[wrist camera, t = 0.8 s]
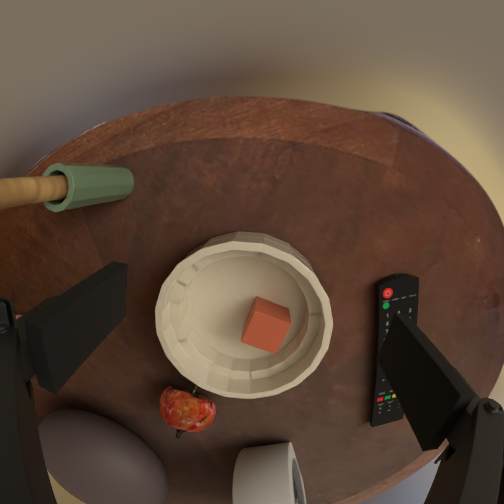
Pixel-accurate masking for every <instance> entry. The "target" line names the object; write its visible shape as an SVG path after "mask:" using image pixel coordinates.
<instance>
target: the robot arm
mask: <svg viewBox="0 0 504 504" xmlns="http://www.w3.org/2000/svg"><path fill="white" fill-rule="evenodd" d="M126 288H127V264H124V263H119V262H115V261H113V262H112V263H110V264H108V265H107V266H105V267H104V268H102V269H100V270H99V271H97V272H96V273H94V274H92V275H91V276H89V277H88V278H86V279H84V280H83V281H81V282H80V283H78V284H77V285H75V286H74V287H72V288H71V289H69V290H67V291H66V292H64V293H63V294H61V295H60V296H59V295H57V296H54V297H51V298H48V299H46V300H44V301H43V302H41V303H40V305H37V306H35V307H34V308H33V309H31V310H29V311H28V312H26V313H25V314H23V315H22V316H21V317H19V318H18V319H16V316H15V310H14V304H13V301H12V300H11V299H9V298H7V297H0V504H57V502H56V499H55V496H54V493H53V490H52V487H51V483H50V479H49V476H48V472H47V468H46V464H45V460H44V456H43V451H42V447H41V442H40V437H39V431H38V426H37V419H36V413H35V405H34V397H33V387H32V383H31V380H30V379H31V378H32V377H33V376H34V375H35V374H36V375H37V379H38V383H39V386H40V387H42V388H44V389H46V390H48V391H50V392H52V393H54V394H56V393H57V392H58V391H59V389H60V388H61V387H62V386H63V385H64V384H65V383H66V381H67V380H68V379H69V378H70V377H71V376H72V374H73V373H74V372H75V371H76V370H77V369H78V368H79V366H80V365H81V364H82V363H83V362H84V361H85V360H86V359H87V357H88V356H89V355H90V354H91V353H92V352H93V351H94V350H95V349H96V347H97V346H98V345H99V344H100V343H101V342H102V341H103V340H104V339H105V338H106V336H107V335H108V334H109V333H110V332H111V331H112V330H113V329H114V328H115V327H116V326H117V325H118V323H119V322H120V321H121V320H122V319H123V318H124V317H125V316H126ZM376 360H377V361H378V363H379V365H380V367H381V369H382V371H383V373H384V374H385V376H386V378H387V380H388V382H389V384H390V386H391V388H392V390H393V392H394V394H395V395H396V397H397V399H398V401H399V403H400V405H401V407H402V409H403V411H404V413H405V415H406V417H407V419H408V421H409V423H410V425H411V427H412V429H413V431H414V434H415V436H416V438H417V440H418V442H419V444H420V446H421V448H422V450H423V451H427V450H433V449H438V448H439V446H440V445H441V444H442V442H443V441H444V440H445V438H447V440H448V442H449V445H448V446H447V447H446V448H445V450H444V451H443V452H442V453H441V455H440V456H439V457H438V458H437V460H436V461H435V462H434V463H435V464H436V463H437V462H438V461H439V460H441V462H440V465H439V467H438V470H437V473H436V476H435V479H434V481H433V483H432V486H431V488H430V491H429V493H428V495H427V498H426V500H425V502H424V504H504V410H503V408H502V407H501V405H500V404H499V403H498V402H496V401H494V400H493V399H489V398H482V399H480V398H479V396H478V395H477V394H476V393H475V391H474V390H473V389H472V388H471V386H470V385H469V384H468V383H467V382H466V380H465V379H464V378H463V377H462V375H461V374H460V373H459V372H458V370H457V369H456V368H454V367H453V366H452V365H451V364H450V363H449V362H448V361H447V359H446V358H445V357H444V356H443V355H442V354H441V352H440V351H439V350H438V349H437V348H436V347H435V345H434V344H433V343H432V342H431V341H430V340H429V339H428V337H427V336H426V335H425V334H424V333H423V332H422V331H421V330H420V328H419V327H418V326H417V325H416V324H415V323H414V322H413V321H412V320H411V319H410V317H409V316H408V315H406V314H398V313H394V316H393V319H392V321H391V324H390V327H389V329H388V332H387V335H386V337H385V340H384V342H383V345H382V347H381V349H380V352H379V354H378V357H377V359H376Z"/></svg>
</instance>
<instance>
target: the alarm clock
mask: <svg viewBox="0 0 504 504" xmlns="http://www.w3.org/2000/svg"><path fill="white" fill-rule="evenodd" d="M232 494H233V504H306V497H305V491H304V485H303V479H302V476H301V473H300V470H299V466H298V463H297V460H296V456H295V453H294V450H293V446H292V443H291V442H285V443H279V444H272V445H265V446H257V447H248V448H243V449H242V450H241V451H240V452H239V455H238V457H237V460H236V463H235V468H234V474H233V489H232Z"/></svg>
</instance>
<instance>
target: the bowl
mask: <svg viewBox="0 0 504 504" xmlns="http://www.w3.org/2000/svg"><path fill="white" fill-rule="evenodd" d="M256 296H258V297H260V298H263V299H265V300H268V301H271V302H273V303H276V304H279V305H281V306H284V307H286V308H289V312H290V318H291V326H290V328H289V330H288V332H287V334H286V336H285V338H284V340H283V342H282V343H281V345H280V347H279V349H278V351H277V353H276V354H273V353H270V352H267V351H264V350H262V349H259V348H256V347H253V346H250V345H248V344H245V343H242V342H241V337H242V331H243V325H244V323H245V320H246V318H247V316H248V314H249V311H250V309H251V307H252V305H253V302H254V300H255V298H256ZM155 318H156V333H157V335H158V338H159V340H160V343H161V345H162V348H163V350H164V352H165V355H166V356H167V358H168V359H169V360H170V361H171V363H172V364H173V365H174V366H175V367H176V369H177V370H178V371H179V372H180V373H181V374H182V375H183V376H184V377H186V378H187V379H189V380H190V381H192V382H193V383H195V384H196V385H198V386H199V387H201V388H202V389H205V390H208V391H210V392H213V393H216V394H219V395H222V396H226V397H233V398H243V399H254V398H261V397H267V396H273V395H277V394H279V393H281V392H283V391H286V390H288V389H290V388H292V387H294V386H296V385H298V384H299V383H300V382H302V381H303V380H304V379H305V378H306V377H307V376H309V375H310V374H311V373H312V372H313V371H314V370H315V369H316V368H317V366H318V365H319V363H320V361H321V360H322V358H323V356H324V355H325V353H326V351H327V350H328V347H329V343H330V338H331V333H332V328H333V320H332V314H331V308H330V302H329V298H328V296H327V294H326V292H325V290H324V288H323V286H322V284H321V282H320V280H319V278H318V277H317V275H316V273H315V271H314V270H313V268H312V266H311V265H310V263H309V261H308V260H307V259H306V258H305V257H304V256H303V255H301V254H300V253H299V252H298V251H297V250H296V249H294V248H293V247H292V246H291V245H290V244H288V243H286V242H284V241H282V240H279V239H277V238H274V237H272V236H269V235H267V234H264V233H254V232H240V231H238V232H233V233H229V234H225V235H221V236H217V237H213V238H211V239H209V240H208V241H206V242H205V243H203V244H201V245H200V246H198V247H197V248H195V249H194V250H192V251H191V252H190V253H189V254H188V255H187V256H186V257H185V258H184V259H183V260H181V261H180V262H179V263H178V264H177V266H176V267H175V268H174V270H173V271H172V272H171V273H170V275H169V276H168V277H167V279H166V280H165V281H164V283H163V284H162V286H161V290H160V293H159V297H158V300H157V303H156V307H155Z"/></svg>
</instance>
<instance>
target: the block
mask: <svg viewBox="0 0 504 504" xmlns="http://www.w3.org/2000/svg"><path fill="white" fill-rule="evenodd" d="M290 326H291V318H290V312H289V308H286V307H284V306H281V305H279V304H276V303H273V302H271V301H268V300H265V299H263V298H260V297H258V296H256V298H255V300H254V302H253V305H252V307H251V309H250V311H249V314H248V316H247V318H246V320H245V323H244V325H243V331H242V337H241V342H242V343H245V344H248V345H250V346H253V347H256V348H259V349H262V350H264V351H267V352H270V353H273V354H276V353H277V351H278V349H279V347H280V345H281V343H282V342H283V340H284V338H285V336H286V334H287V332H288V330H289V328H290Z"/></svg>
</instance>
